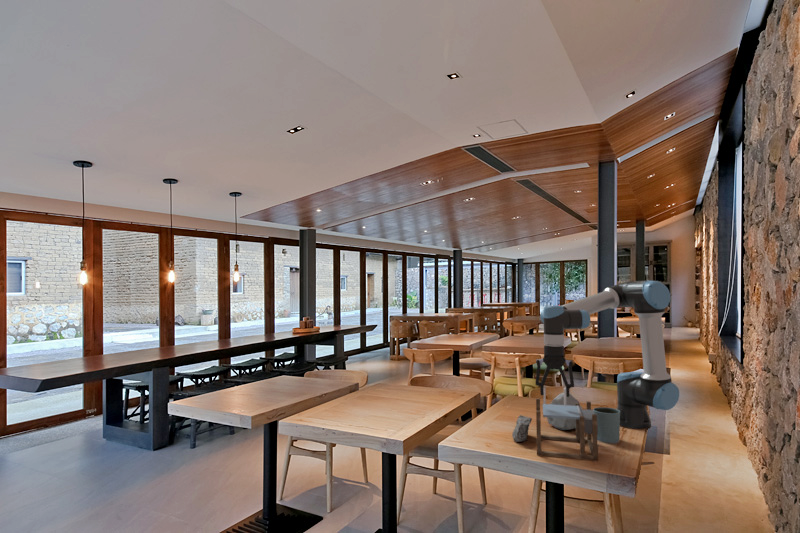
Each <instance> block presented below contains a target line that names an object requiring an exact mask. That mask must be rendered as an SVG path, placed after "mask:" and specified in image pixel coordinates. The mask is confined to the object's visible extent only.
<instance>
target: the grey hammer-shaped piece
mask: <svg viewBox="0 0 800 533" xmlns="http://www.w3.org/2000/svg"><path fill="white" fill-rule="evenodd" d="M592 414H594V411H593V409H591V410H587V408H586V409H585V408H584V409H583V408H582V409H580V407H579V406H578V405H577V406H569V405H567V406H564V405H553V404H551V403H546V405H544V403H542V415H543V416H542V417H543V418H547V417H550V418H565V419H579V420H580V416H584V423H585V434H587V433H589V434H591V435H592ZM597 434H598V420H597Z"/></svg>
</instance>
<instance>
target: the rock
mask: <svg viewBox="0 0 800 533" xmlns="http://www.w3.org/2000/svg"><path fill="white" fill-rule="evenodd" d="M532 420H533V418H532V417H529V416H526V415H522V414H521V415H519V416H518V417H517V420H516V424H515V427H514V429H513V431H512V436H511V437H512V439H513V442H514V443H520V442H526V441H527V440H528V434H529V428H530V425H531V423H532Z"/></svg>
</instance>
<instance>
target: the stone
mask: <svg viewBox="0 0 800 533" xmlns="http://www.w3.org/2000/svg"><path fill="white" fill-rule="evenodd" d="M566 403H567V405H569V406H575V403H579V404H580V401H579V400H578V399H577V398H575V396H573V395H572V393H570V392H569V397H566ZM550 404H553V405H564V392H561V393H559V394H558V395H557V396H556V397H554V398H553V400H552V401H551V402H550ZM580 409H583V407H582V405H580ZM546 419H547V423H548V424H549V425H551V427H552V426H553V428H556V429H558V430H560V431H566V430H567V431H568V430H569V431H571V430H573V429H574V430H575V429H576V419H565V418H550V417H546Z"/></svg>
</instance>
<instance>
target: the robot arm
mask: <svg viewBox="0 0 800 533" xmlns="http://www.w3.org/2000/svg"><path fill="white" fill-rule="evenodd" d="M670 302H671V293H670V291H669V288H668V287H667V285H665V284H664V283H663V282H661V281H659V280H629V281H624V282H621V283H617V284H615V285H612V286H609V287H606V288H604V289H603V291H602V292H601V291H600V292H598V293H595V294H593V295H589V296H586V297H583V298H579V299H577V300H575V301H572V302H567V303H566V304H562V305H558V304H557V305H556V304H555V305H548V304H547V305H545V306H544V307H543V309H542V310H541V312H540V315H539V318H540V322H541V323H542V324H543V345H544V346H543V357H542V358H540V359H539V358H536V360H535V361H536V374H535V385H536V386H538V387H539V389H540V391H539V392H540V393H539V394H540V396H543V397H542V398H543V404H544V405H546V404H547V403H546V402H547V401H546V400H547V397H546V393H547V392H546V386H545V383H546V381H547V378H548V376H549V372H550V370H556V371H557V370H558V371H559V373H560V375H561V378H562V381H563V383H564V385H565V387H563V393H564V406H567V403H566V397H569V393H570V389H571V388H575V383H574V382H575V381H574V374H573V365H574V362H573V361H572V360H568V359H566V358H565V346H564V345H565V330H581V329H587V328H588V327H589V326H590V324H591V315H593V314H595V313H599V312H601V311H604V310H608V309H612V310H613V309H617V308H618V309H619V308H633V311H634V312H633V313H634V314H635V315H636V316H637V317H638V323H639V332H640V344H641V356H642V367H643V372H640V371H639V372H638V371H637V372H634V371H631V372H619V373H618V374H617V378H616V379H617V380H616V390H617V407H616V409H617V410H619V411H620V423H619V424H620V427H622V428H626V429H627V428H628V429H636V430H637V429H638V430H642V429H643V430H644V429H645V430H646V429H649V428H651V427H652V420H651V418H650V417H651V416H650V414H649V412H648V409H647V406H648V407H651V408H654V409H656V410H662V411H669V410H671V409H673V408H675V406H676V404H677V403H678V402H679V400H680V389H679V387H678V386H677V385H676V384H675V383H674V382H673V381H672V376H671V374H669V373H668V372H667V361H666V352H665V342H664V341H665V340H664V330H663V318H662V316H663V315H664V314H665V313H666V309H667V308H668V307H669V305H670ZM543 363H544V364H545V365H546V368H545V370H544V374H543V376H542V378H541V381H540V377H541V376H540V375H541V365H543ZM565 364H566V367H568V368H567V369H568V376H569V377H568V378H569V382H570V383H569V382H568V380H567V377H566V375H565V372H564V370H563V366H564V365H565Z"/></svg>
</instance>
